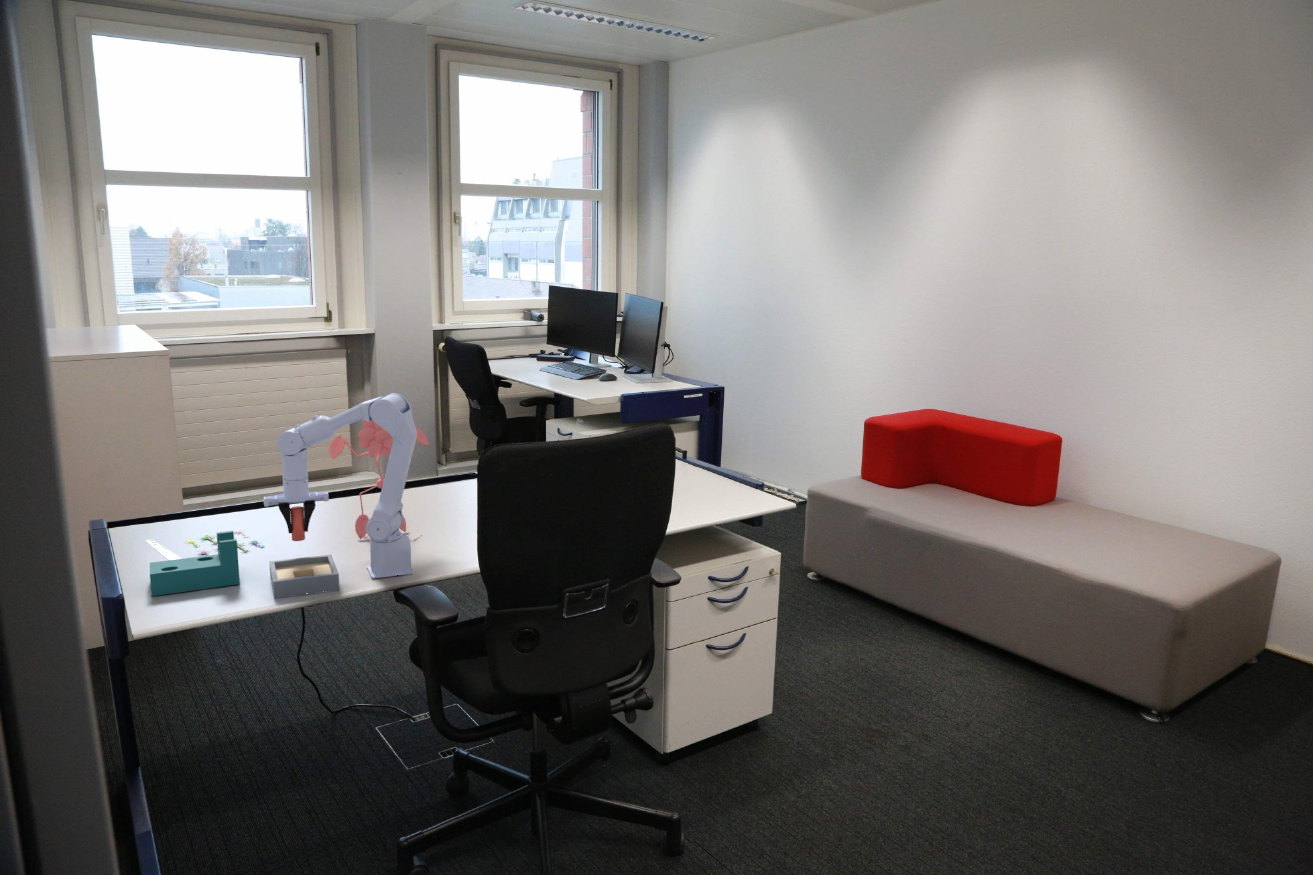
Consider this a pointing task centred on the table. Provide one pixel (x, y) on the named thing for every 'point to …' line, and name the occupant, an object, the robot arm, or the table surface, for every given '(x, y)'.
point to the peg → (297, 523)
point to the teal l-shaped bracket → (198, 569)
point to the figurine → (376, 443)
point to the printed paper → (172, 556)
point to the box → (303, 576)
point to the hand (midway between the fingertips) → (298, 531)
